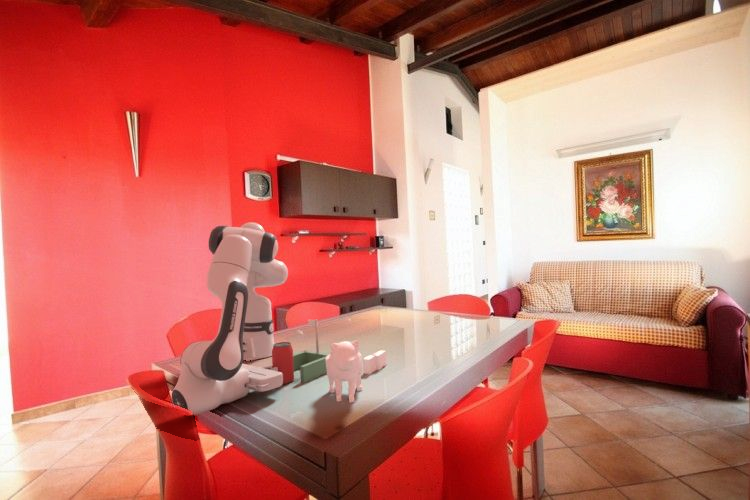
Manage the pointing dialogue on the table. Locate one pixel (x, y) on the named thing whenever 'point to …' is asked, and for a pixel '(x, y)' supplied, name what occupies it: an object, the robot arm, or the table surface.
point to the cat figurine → (344, 368)
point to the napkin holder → (374, 362)
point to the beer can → (283, 360)
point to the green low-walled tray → (310, 360)
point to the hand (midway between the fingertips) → (274, 368)
